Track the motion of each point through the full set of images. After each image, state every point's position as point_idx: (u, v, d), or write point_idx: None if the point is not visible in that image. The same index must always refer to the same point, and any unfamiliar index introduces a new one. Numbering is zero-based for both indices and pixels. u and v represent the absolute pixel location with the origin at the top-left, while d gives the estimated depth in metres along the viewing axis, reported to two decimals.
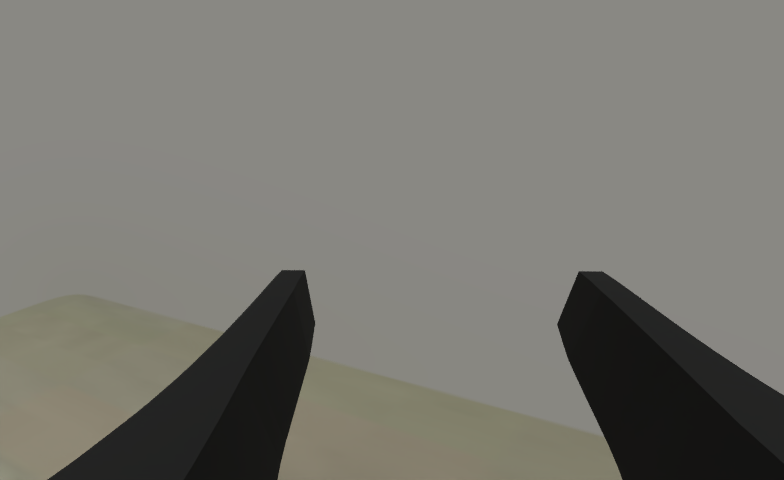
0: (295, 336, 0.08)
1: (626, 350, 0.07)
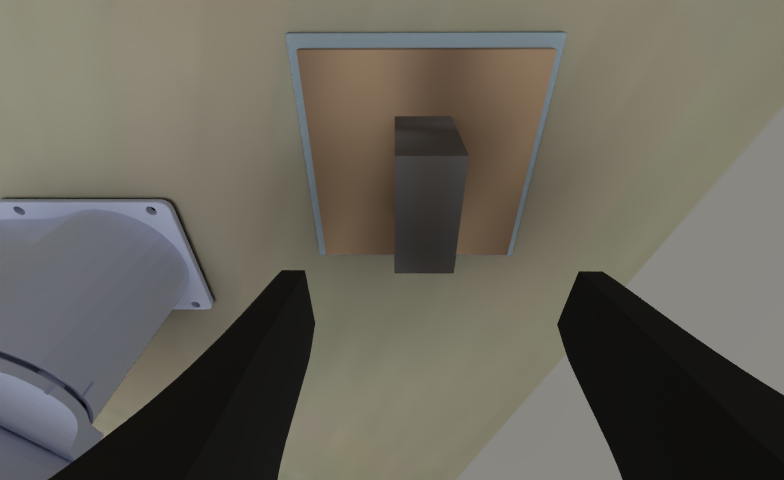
0: (295, 336, 0.08)
1: (626, 350, 0.07)
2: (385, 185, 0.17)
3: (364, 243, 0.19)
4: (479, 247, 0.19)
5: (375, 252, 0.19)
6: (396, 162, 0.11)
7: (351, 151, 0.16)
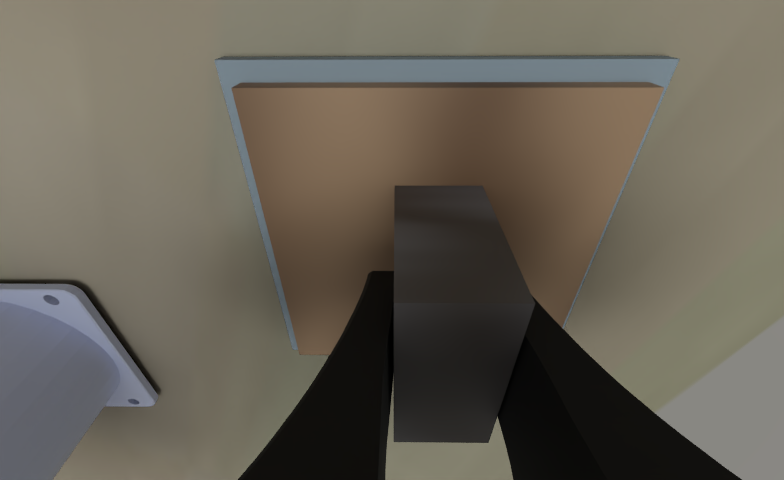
0: (393, 337, 0.08)
1: None
2: None
3: None
4: None
5: None
6: (396, 312, 0.06)
7: (329, 232, 0.10)
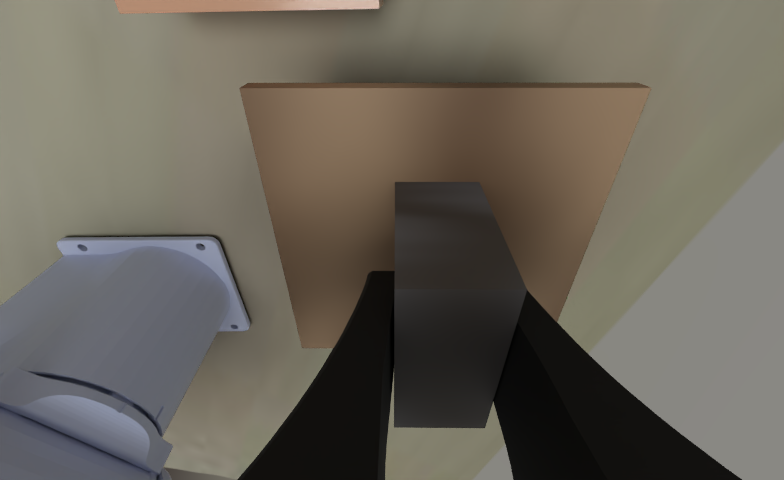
0: (393, 337, 0.08)
1: (513, 349, 0.07)
2: (381, 269, 0.12)
3: None
4: None
5: None
6: (397, 298, 0.06)
7: (331, 227, 0.11)
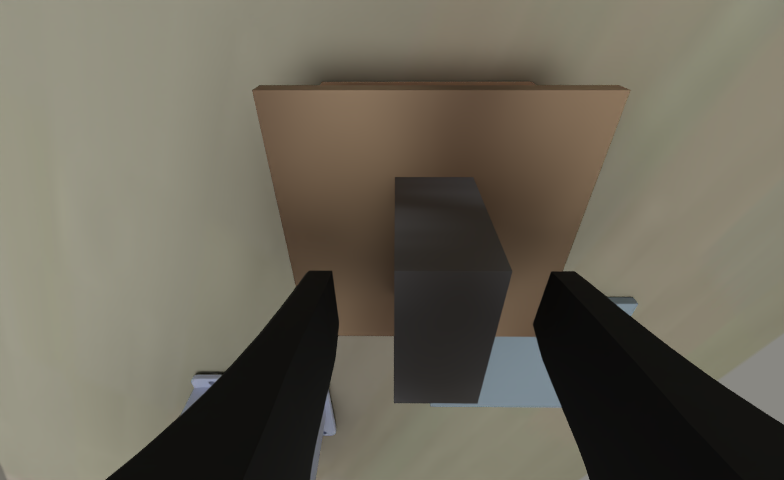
0: (325, 336, 0.08)
1: (592, 350, 0.07)
2: (382, 259, 0.13)
3: (355, 323, 0.15)
4: (503, 328, 0.15)
5: (369, 332, 0.15)
6: (397, 279, 0.07)
7: (335, 219, 0.12)
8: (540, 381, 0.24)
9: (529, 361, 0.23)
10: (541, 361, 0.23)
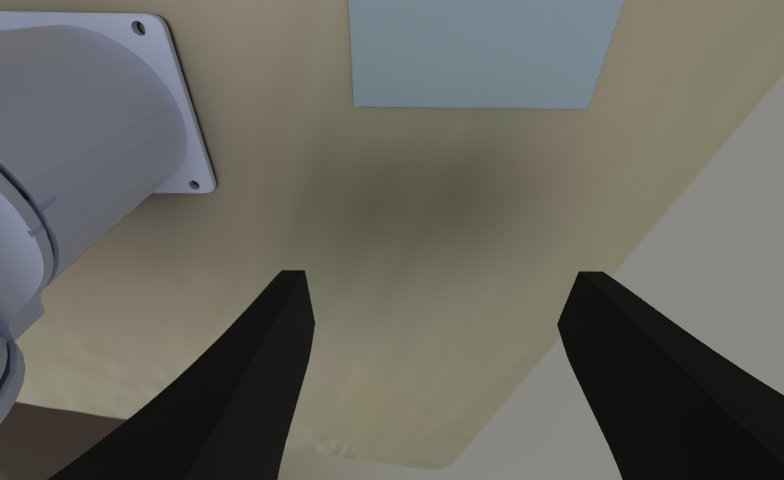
0: (295, 336, 0.08)
1: (626, 350, 0.07)
2: None
3: None
4: None
5: None
6: None
7: None
8: (529, 24, 0.14)
9: None
10: None
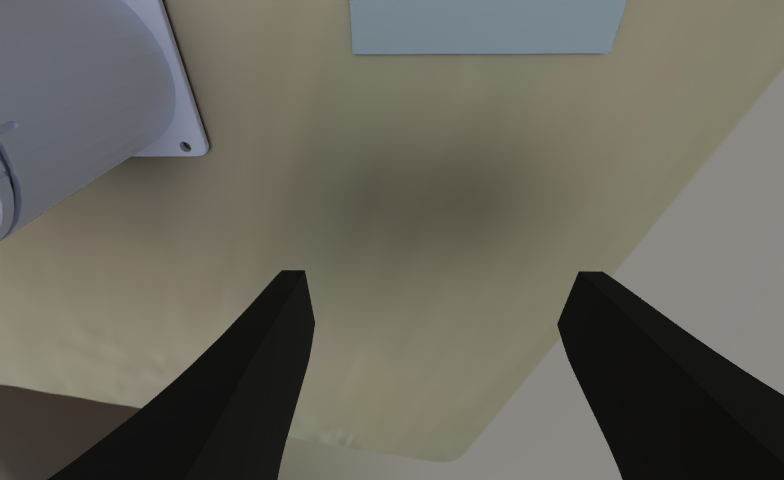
0: (295, 336, 0.08)
1: (626, 350, 0.07)
2: None
3: None
4: None
5: None
6: None
7: None
8: None
9: None
10: None
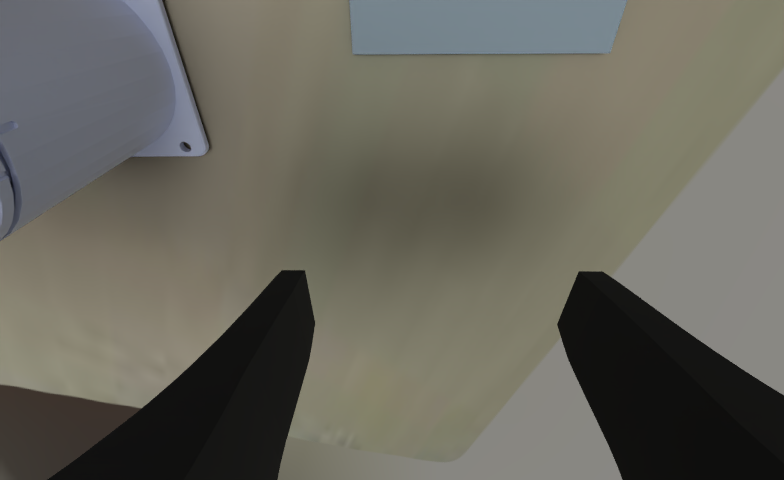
0: (295, 336, 0.08)
1: (626, 350, 0.07)
2: None
3: None
4: None
5: None
6: None
7: None
8: None
9: None
10: None
